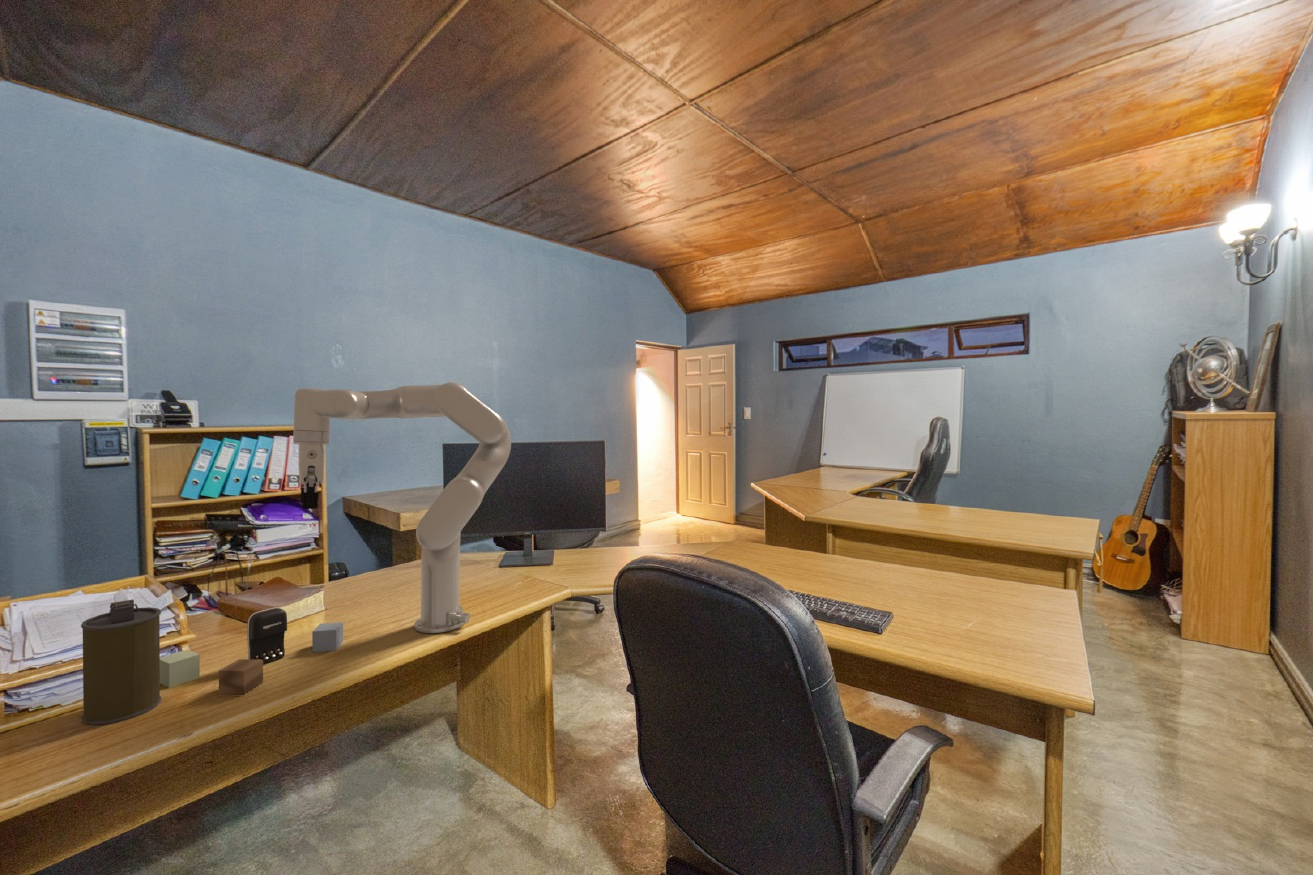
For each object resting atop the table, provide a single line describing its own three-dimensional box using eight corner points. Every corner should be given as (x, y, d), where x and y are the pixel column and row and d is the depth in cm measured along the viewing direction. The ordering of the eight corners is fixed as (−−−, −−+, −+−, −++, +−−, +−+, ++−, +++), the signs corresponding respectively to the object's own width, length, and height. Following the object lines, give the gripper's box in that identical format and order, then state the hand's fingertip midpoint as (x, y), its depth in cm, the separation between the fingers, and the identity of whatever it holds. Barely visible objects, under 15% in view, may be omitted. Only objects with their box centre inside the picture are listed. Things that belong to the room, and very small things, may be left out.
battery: (254, 669, 115) (254, 617, 115) (246, 665, 117) (246, 613, 117) (289, 657, 121) (289, 607, 121) (281, 653, 123) (281, 604, 123)
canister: (164, 709, 99) (164, 602, 98) (82, 732, 91) (81, 617, 90) (157, 689, 106) (157, 589, 105) (80, 709, 98) (80, 602, 98)
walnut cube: (263, 683, 109) (263, 659, 109) (243, 696, 104) (243, 671, 104) (239, 683, 109) (239, 659, 109) (218, 695, 104) (218, 670, 104)
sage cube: (199, 677, 111) (199, 654, 111) (169, 688, 106) (169, 663, 106) (187, 672, 113) (187, 649, 113) (157, 682, 109) (157, 658, 109)
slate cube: (343, 642, 130) (343, 622, 130) (336, 650, 125) (336, 629, 125) (320, 644, 129) (320, 623, 129) (312, 652, 124) (312, 631, 124)
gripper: (331, 439, 128) (329, 510, 128) (326, 437, 142) (324, 500, 142) (294, 438, 124) (291, 511, 124) (292, 436, 138) (290, 501, 138)
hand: (308, 505), depth 133 cm, fingers open, 9 cm apart
